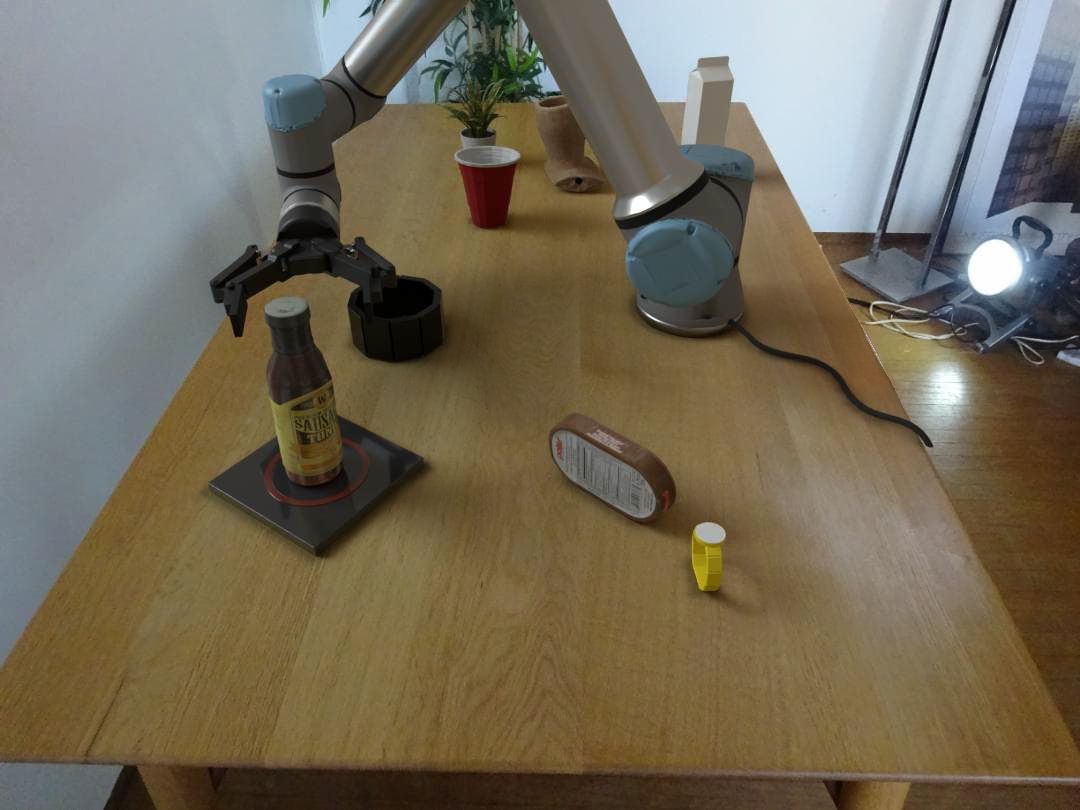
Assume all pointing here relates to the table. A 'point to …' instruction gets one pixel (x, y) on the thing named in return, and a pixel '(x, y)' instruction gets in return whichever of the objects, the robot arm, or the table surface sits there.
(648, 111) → the robot arm
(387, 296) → the bottle holder
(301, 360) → the sauce bottle
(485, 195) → the plastic cup
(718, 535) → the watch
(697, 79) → the milk
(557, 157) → the clay boot vase
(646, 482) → the tin
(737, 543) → the table surface
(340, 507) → the hob plate
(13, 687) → the table surface
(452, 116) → the house plant
